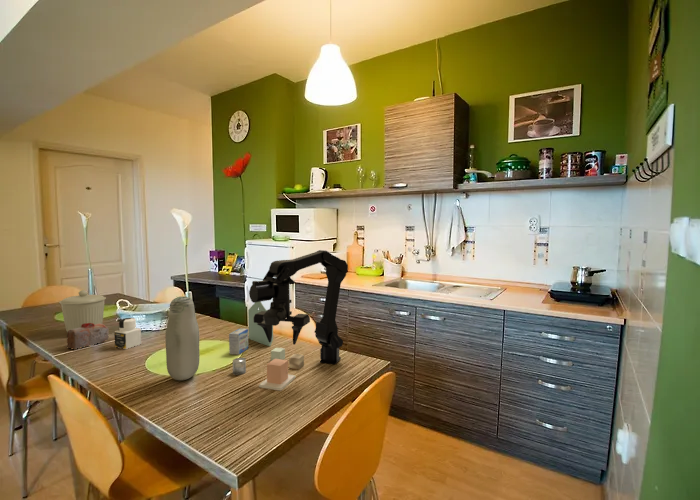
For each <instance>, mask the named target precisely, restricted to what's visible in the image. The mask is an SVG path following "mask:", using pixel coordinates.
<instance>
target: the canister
mask: <svg viewBox="0 0 700 500" xmlns="http://www.w3.org/2000/svg"><path fill="white" fill-rule="evenodd" d="M88 293H89V292H88V291H87V290H85V289H82V290H79V292H78V295H73V296H69V297H66V298H63V299H62V300H60V301H59V302H58V303H59V304H60V305H61V312H62V317H63V322H64V326H65V331H66V333H67V334H68V331H69V330H70V329H75V328H79V327H81V325H82V324H85V323H86V324H87V323H93V324H94V325H95V324H99V323H102V324H103V321H104V310H105V302H106V301H105V300H106V299H107V297H106V296H104V295H102V294H88Z"/></svg>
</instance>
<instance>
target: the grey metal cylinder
mask: <svg viewBox="0 0 700 500" xmlns="http://www.w3.org/2000/svg"><path fill="white" fill-rule="evenodd" d="M246 373H247V362H246V358H244V357H237V358H233V359H232V375H233V376H234V375H235V376H240V375H244V374H246Z"/></svg>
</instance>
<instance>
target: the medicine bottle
mask: <svg viewBox="0 0 700 500" xmlns="http://www.w3.org/2000/svg"><path fill="white" fill-rule="evenodd" d="M136 323H137V321H136V318H134V317H126V318H121V319H119V321H118V329H119V330H118V329H117V330H115V331H114V348H116V347H118V349H121V348H123V349H122V350H127V349H128V348H129V349H132V348H135V347H138V346H141V345H142V329H141V328H139V327H137V324H136ZM140 344H141V345H140ZM137 345H138V346H137ZM134 346H135V347H134ZM131 347H132V348H131ZM129 349H128V350H129Z"/></svg>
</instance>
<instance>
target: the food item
mask: <svg viewBox="0 0 700 500" xmlns="http://www.w3.org/2000/svg"><path fill="white" fill-rule="evenodd" d="M109 330H110V329H109V327H107V326H106V325H105V324H104V323H103V322H102V323H99V324H95V325H94V324H93V323H87V324H86V323H85V324H82V325H81V327H79V328H75V329H70V330H69V331H68V333H67V338H66V344H67V345H66V348H67V347H68V348H73V349H77V348H80V347H84V346H88V347H89V345H93V344H95V345H98V344H97V343H99V344H101V343H100V342H102V343H104V342H103V341H105V342H106V341H107V340H108V339H109V335H110V334H109ZM93 346H94V345H93ZM68 348H67V349H68ZM84 348H85V347H84ZM77 350H78V349H77Z"/></svg>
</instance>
